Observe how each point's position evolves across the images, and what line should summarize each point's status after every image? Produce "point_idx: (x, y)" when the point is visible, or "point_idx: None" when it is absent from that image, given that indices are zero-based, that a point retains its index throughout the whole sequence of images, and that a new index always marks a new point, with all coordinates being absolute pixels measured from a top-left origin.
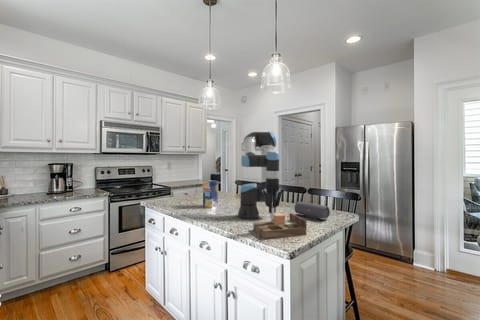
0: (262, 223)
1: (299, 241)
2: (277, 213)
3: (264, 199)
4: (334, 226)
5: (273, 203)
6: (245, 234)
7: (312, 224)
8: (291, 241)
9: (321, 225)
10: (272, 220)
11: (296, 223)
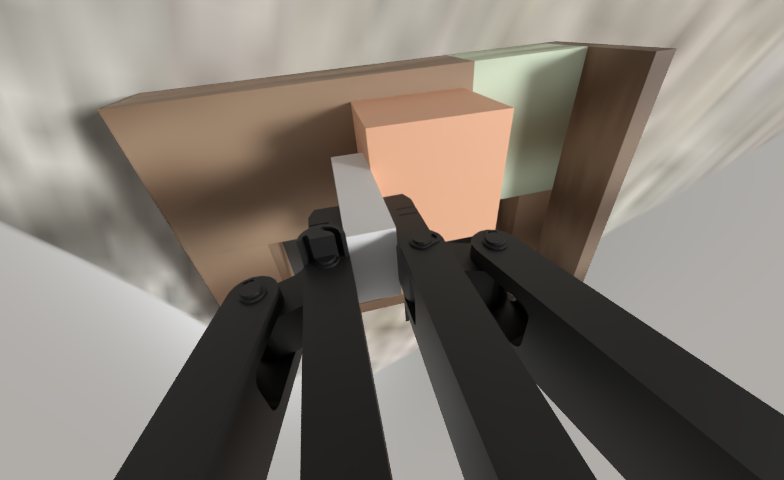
0: (232, 153)
1: None
2: (457, 139)
3: (121, 475)
4: (780, 122)
5: (418, 322)
6: (76, 220)
7: (734, 36)
8: (388, 321)
9: (751, 81)
10: (359, 146)
11: (548, 189)
